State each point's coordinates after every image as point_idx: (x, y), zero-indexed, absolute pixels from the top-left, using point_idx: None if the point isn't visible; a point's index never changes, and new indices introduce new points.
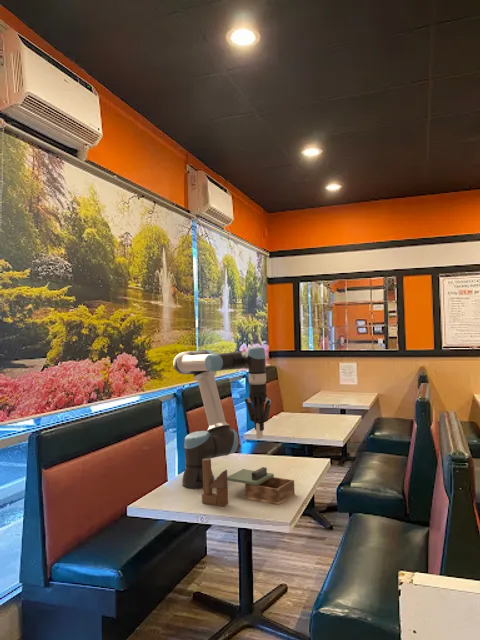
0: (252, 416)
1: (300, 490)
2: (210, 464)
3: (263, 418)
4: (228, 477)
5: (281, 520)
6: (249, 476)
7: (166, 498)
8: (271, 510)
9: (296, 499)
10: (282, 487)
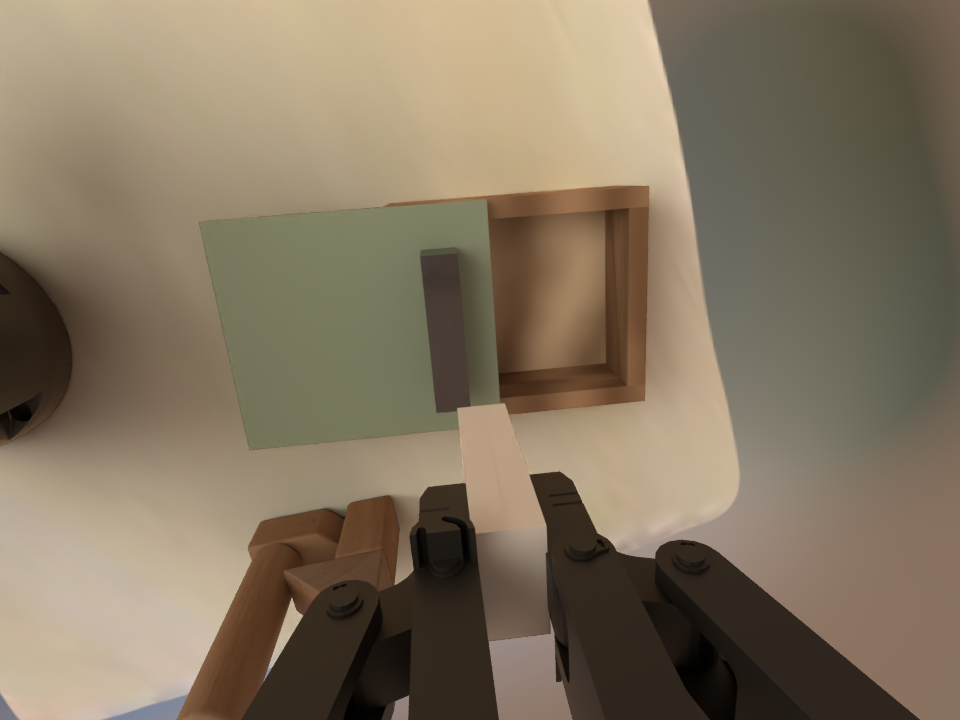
0: (294, 677)
1: (615, 97)
2: (251, 699)
3: (704, 711)
4: (266, 440)
5: (715, 508)
6: (375, 349)
7: (61, 604)
8: (622, 446)
9: (663, 254)
10: (644, 347)
